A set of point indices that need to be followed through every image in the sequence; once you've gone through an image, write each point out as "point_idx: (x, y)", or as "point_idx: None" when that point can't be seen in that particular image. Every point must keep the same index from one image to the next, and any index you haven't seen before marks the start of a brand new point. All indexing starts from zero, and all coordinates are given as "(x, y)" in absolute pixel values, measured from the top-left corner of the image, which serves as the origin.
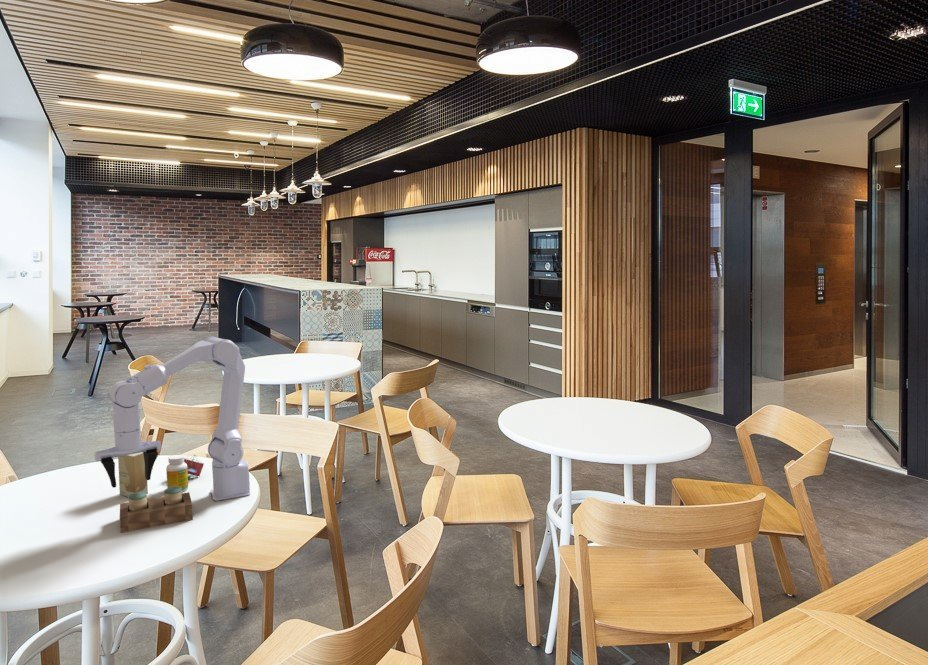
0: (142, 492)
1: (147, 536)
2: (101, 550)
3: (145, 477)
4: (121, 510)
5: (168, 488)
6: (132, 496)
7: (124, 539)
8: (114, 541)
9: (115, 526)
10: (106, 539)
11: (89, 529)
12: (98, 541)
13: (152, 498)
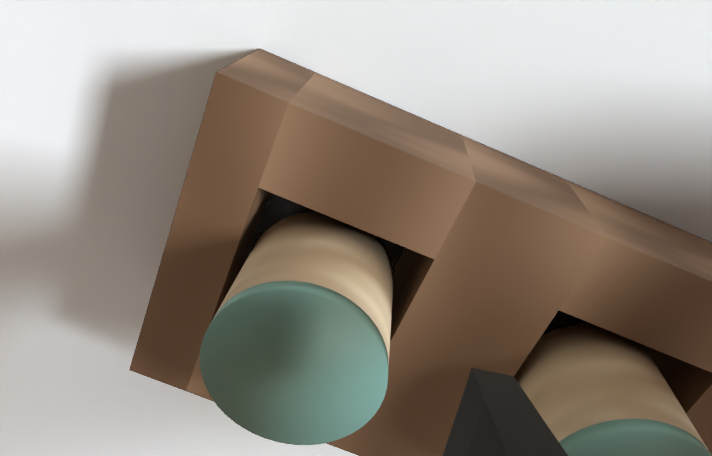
0: (370, 337)
1: (284, 451)
2: (43, 420)
3: (471, 381)
4: (175, 262)
5: (628, 441)
6: (240, 362)
7: (173, 393)
8: (121, 376)
9: (181, 167)
10: (88, 318)
11: (14, 65)
12: (44, 308)
13: (511, 205)
